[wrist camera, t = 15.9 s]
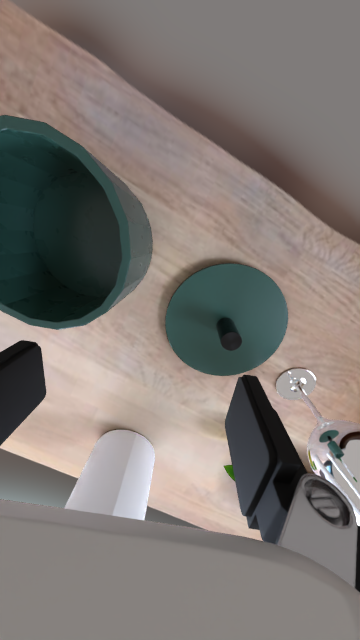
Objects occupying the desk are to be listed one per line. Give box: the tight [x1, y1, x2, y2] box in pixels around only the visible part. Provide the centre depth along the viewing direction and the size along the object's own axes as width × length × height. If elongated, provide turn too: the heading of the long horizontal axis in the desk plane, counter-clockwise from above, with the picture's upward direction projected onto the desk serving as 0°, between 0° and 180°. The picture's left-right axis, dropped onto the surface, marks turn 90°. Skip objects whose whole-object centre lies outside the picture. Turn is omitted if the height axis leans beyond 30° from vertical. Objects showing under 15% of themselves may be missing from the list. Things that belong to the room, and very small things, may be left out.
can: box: [65, 430, 155, 520], centre depth 33 cm, size 12×12×20 cm
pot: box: [0, 115, 153, 330], centre depth 22 cm, size 17×17×11 cm
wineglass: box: [276, 368, 360, 526], centre depth 25 cm, size 8×8×18 cm
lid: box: [165, 263, 288, 376], centre depth 28 cm, size 18×18×6 cm
